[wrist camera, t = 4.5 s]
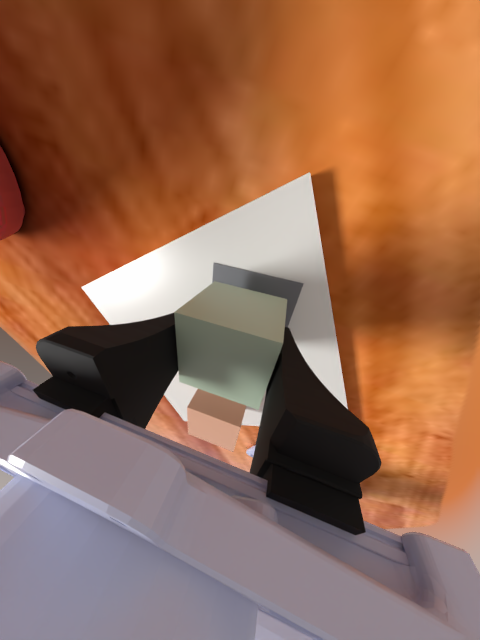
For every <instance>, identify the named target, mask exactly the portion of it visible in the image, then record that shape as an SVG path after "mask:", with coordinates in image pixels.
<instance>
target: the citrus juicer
mask: <svg viewBox="0 0 480 640" xmlns="http://www.w3.org/2000/svg"><path fill="white" fill-rule="evenodd" d="M24 215H25V208H24V205H23V202H22V198H21V193H20V189H19V187H18V184H17V181H16V178H15V175H14V173H13V170H12V168H11V166H10V164H9V161H8V159H7V157H6V155H5V153H4V151H3V149H2V148H1V146H0V240H2V239H4V238H6V237H8V236H10V235H12V234H14V233H16V232H17V231H19V229H20V228H21V226H22V223H23V218H24Z"/></svg>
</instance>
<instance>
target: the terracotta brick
mask: <svg viewBox="0 0 480 640" xmlns="http://www.w3.org/2000/svg"><path fill="white" fill-rule="evenodd" d="M245 409H246V405H243V404H240V403H237V402H234V401H232V400H229V399H226V398H223V397H220V396H217V395H215V394H212V393H209V392H206V391H203V390H201V389H197V391H196V393H195V394H194V396H193V398H192V399H191V401H190V403H189V405H188V406H187V419H188V434H190V435H192V436H195V437H197V438H200V439H202V440H205V441H207V442H210V443H212V444H215V445H217V446H220V447H222V448H224V449H227V450H229V451H232V452H233V451H234V448H235V445H236V441H237V438H238V435H239V431H240V428H241V424H242V420H243V416H244V413H245Z"/></svg>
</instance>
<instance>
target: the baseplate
mask: <svg viewBox="0 0 480 640" xmlns="http://www.w3.org/2000/svg"><path fill="white" fill-rule="evenodd" d="M214 281H216V282H220V283H224V284H228V285H232V286H236V287H240V288H244V289H248V290H252V291H256V292H260V293H264V294H268V295H272V296H277V297H281V298H285V299H287V308H286V319H285V327H288V328H289V329H290V331H291V333H292V336H293V338H294V340H295V343H296V345H297V347H298V349H299V350H300V352H301V354H302V356H303V358H304V359H305V361H306V362H307V364H308V365H309V367H310V368H311V370H312V371H313V372H314V374H315V375H316V376H317V377H318V379H319V380H320V381H321V382H322V383H323V384H324V386H325V387H326V388H327V389H328V390H329V391H330V392H331V393H332V394H333V395H334V396H335V397H336V398H337V399H338V400H339V401H340V402H341V403H342V404H343V405H344V406H345V407H346V408H347V409H348V407H347V400H346V394H345V388H344V382H343V375H342V369H341V363H340V357H339V350H338V344H337V338H336V332H335V325H334V319H333V313H332V307H331V300H330V294H329V288H328V282H327V275H326V269H325V263H324V257H323V250H322V244H321V238H320V232H319V225H318V219H317V213H316V206H315V200H314V194H313V188H312V181H311V175H310V172H309V173H307V174H305V175H303V176H301V177H299V178H297V179H295V180H293V181H291V182H289V183H287V184H285V185H283V186H281V187H279V188H277V189H275V190H273V191H271V192H269V193H267V194H265V195H263V196H261V197H260V198H258V199H256V200H254V201H252V202H250V203H248V204H246V205H244V206H242V207H240V208H238V209H236V210H234V211H232V212H230V213H228V214H226V215H224V216H222V217H220V218H218V219H216V220H214V221H212V222H210V223H208V224H206V225H204V226H202V227H200V228H198V229H196V230H194V231H192V232H190V233H188V234H186V235H184V236H182V237H180V238H178V239H176V240H174V241H172V242H170V243H168V244H166V245H164V246H162V247H160V248H158V249H156V250H154V251H152V252H150V253H148V254H146V255H144V256H142V257H140V258H138V259H136V260H134V261H132V262H130V263H128V264H126V265H125V266H123V267H121V268H119V269H117V270H115V271H113V272H111V273H109V274H107V275H105V276H103V277H101V278H99V279H97V280H95V281H93V282H91V283H89V284H87V285H85V286H83V287H82V289H83V290H84V291H85V293H86V294H87V295H88V297H89V298H90V299H91V300H92V302H93V303H94V304H95V306H96V307H97V308H98V310H99V311H100V312H101V313H102V315H103V316H104V317H105V319H106V320H107V321H108V323H109V324H110V325H116V324H125V323H131V322H138V321H144V320H148V319H153V318H157V317H161V316H164V315H168V314H171V313H174V312H175V311H176V310H178V309H179V308H180V307H182V306H183V305H184V304H186V303H187V302H188V301H189V300H191V299H192V298H193V297H195V296H196V295H197V294H199V293H200V292H201V291H202V290H204V289H205V288H206V287H208V286H209V285H210V284H212V283H213V282H214ZM197 389H198V388H195V387H192V386H189V385H187V384H184V383H181V382H179V371H178V372H177V374H176V375H175V377H174V378H173V380H172V382H171V383H170V385H169V387H168V388H167V390H166V392H165V393H164V395H165V397H166V398H167V399H168V401H169V402H170V403H171V404H172V406H173V407H174V408H175V410H176V411H177V412H178V414H179V415H180V416H181V417H182V419H183V420H184V421H188V419H187V406H188V405H189V403H190V401H191V399H192V398H193V396H194V394H195V393H196V391H197ZM265 395H266V391H265V394H264V396H263V399H262V402H261V404H260V407H259V410H257V409H254V408H251V407H248V406H246V409H245V413H244V416H243V420H242V424H241V425H250V426H260V422H261V417H262V412H263V407H264V402H265Z"/></svg>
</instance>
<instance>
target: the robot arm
mask: <svg viewBox="0 0 480 640" xmlns="http://www.w3.org/2000/svg"><path fill="white" fill-rule="evenodd" d="M36 349H37V353H38V354H39V356H40V358H41V359H42V361H43V362H44V364H45V365H46V367H47V368H48V369H49V371H50V372H51V374H52V375H53V377H51V378H50V379H48V380H47V381H45V382H44V383H42V384H40V385H38V384H35V383H33V382H31V381H28V380H26V377H25V376H24V374H23V373H22V372H21V371H20V370H19V369H17V368H16V367H14V366H12V365H10V364H7V363H5V362H2V361H0V470H2V471H4V472H6V473H7V474H9V475H11V476H13V477H14V478H13V479H12V480H11V481H10V482H9V483H8V484H7V485H6V486H4V487H3V488H2V489H1V490H0V640H480V574H479V572H478V571H477V568H476V566H475V565H474V563H473V561H472V559H471V557H470V555H469V554H468V553H467V552H466V551H465V550H463V549H460V548H458V547H456V546H453V545H451V544H448V543H446V542H443V541H441V540H438V539H436V538H434V537H431V536H428V535H425V534H422V533H416V532H409V533H405V534H403V535H402V536H399V535H397V534H394V533H392V532H389V531H387V530H385V529H382V528H380V527H378V526H375V525H373V524H370V523H368V522H366V521H363V517H362V513H361V508H360V504H359V499H361V498H362V491H361V487H360V482H362V481H363V480H365V479H367V478H368V477H370V476H372V475H373V474H374V473H376V472H377V471H378V470H379V469H380V466H381V460H380V457H379V454H378V451H377V448H376V445H375V442H374V439H373V437H372V434H371V432H370V430H369V428H368V427H367V426H366V425H365V424H364V423H363V422H362V421H360V420H359V419H358V418H357V417H356V416H355V415H354V414H352V413H351V412H350V411H349V410H348V409H347V408H346V407H345V406H344V405H343V404H342V403H341V402H340V401H339V400H338V399H337V398H336V397H335V396H334V395H333V394H332V393H331V392H330V391H329V390H328V389H327V388H326V387H325V386H324V384H323V383H322V382H321V381H320V380H319V379H318V377H317V376H316V375H315V374H314V372H313V371H312V370H311V368H310V367H309V365H308V364H307V362H306V361H305V359H304V358H303V356H302V354H301V352H300V350H299V349H298V347H297V345H296V343H295V340H294V338H293V336H292V333H291V331H290V329H289V328H288V327H285V330H284V340H283V345H282V348H281V351H280V353H279V356H278V359H277V361H276V364H275V367H274V369H273V372H272V375H271V378H270V380H269V383H268V386H267V388H266V395H265V402H264V407H263V412H262V417H261V422H260V427H259V432H258V437H257V441H256V445H255V446H253V447H251V448H249V449H247V451H246V453H247V454H248V455H250V456H251V457H253V460H252V465H251V469H250V473H248V472H246V471H244V470H241V469H239V468H237V467H234V466H232V465H229V464H227V463H225V462H222V461H220V460H217V459H215V458H213V457H210V456H208V455H205V454H203V453H201V452H198V451H196V450H193V449H191V448H189V447H186V446H184V445H182V444H179V443H177V442H174V441H172V440H170V439H167V438H165V437H162V436H160V435H158V434H155V433H153V432H150V431H148V430H146V429H145V428H146V426H147V424H148V422H149V420H150V418H151V416H152V415H153V413H154V411H155V409H156V407H157V405H158V404H159V402H160V400H161V398H162V397H163V395H164V393H165V392H166V390H167V388H168V387H169V385H170V383H171V382H172V380H173V378H174V377H175V375H176V374H177V372H178V371H179V370H178V356H177V343H176V329H175V316H174V313H171V314H168V315H164V316H161V317H157V318H153V319H148V320H144V321H138V322H131V323H125V324H116V325H103V326H76V327H66V328H64V329H62V330H60V331H57V332H55V333H53V334H51V335H49V336H47V337H45V338H43V339H40V340H39V341H38V342H37V345H36ZM358 498H359V499H358Z"/></svg>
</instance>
